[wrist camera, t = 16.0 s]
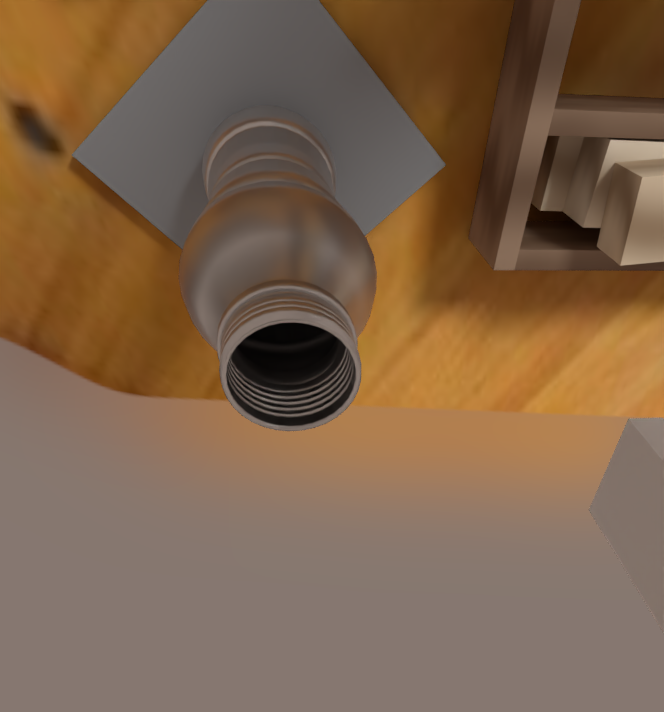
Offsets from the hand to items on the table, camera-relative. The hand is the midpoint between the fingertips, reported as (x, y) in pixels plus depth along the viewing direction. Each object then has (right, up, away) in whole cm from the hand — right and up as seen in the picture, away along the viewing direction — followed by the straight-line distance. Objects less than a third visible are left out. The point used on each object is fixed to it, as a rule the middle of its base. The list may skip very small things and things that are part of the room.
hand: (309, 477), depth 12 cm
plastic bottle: (-3, +13, +20) cm, 24 cm away
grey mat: (-3, +13, +20) cm, 25 cm away
